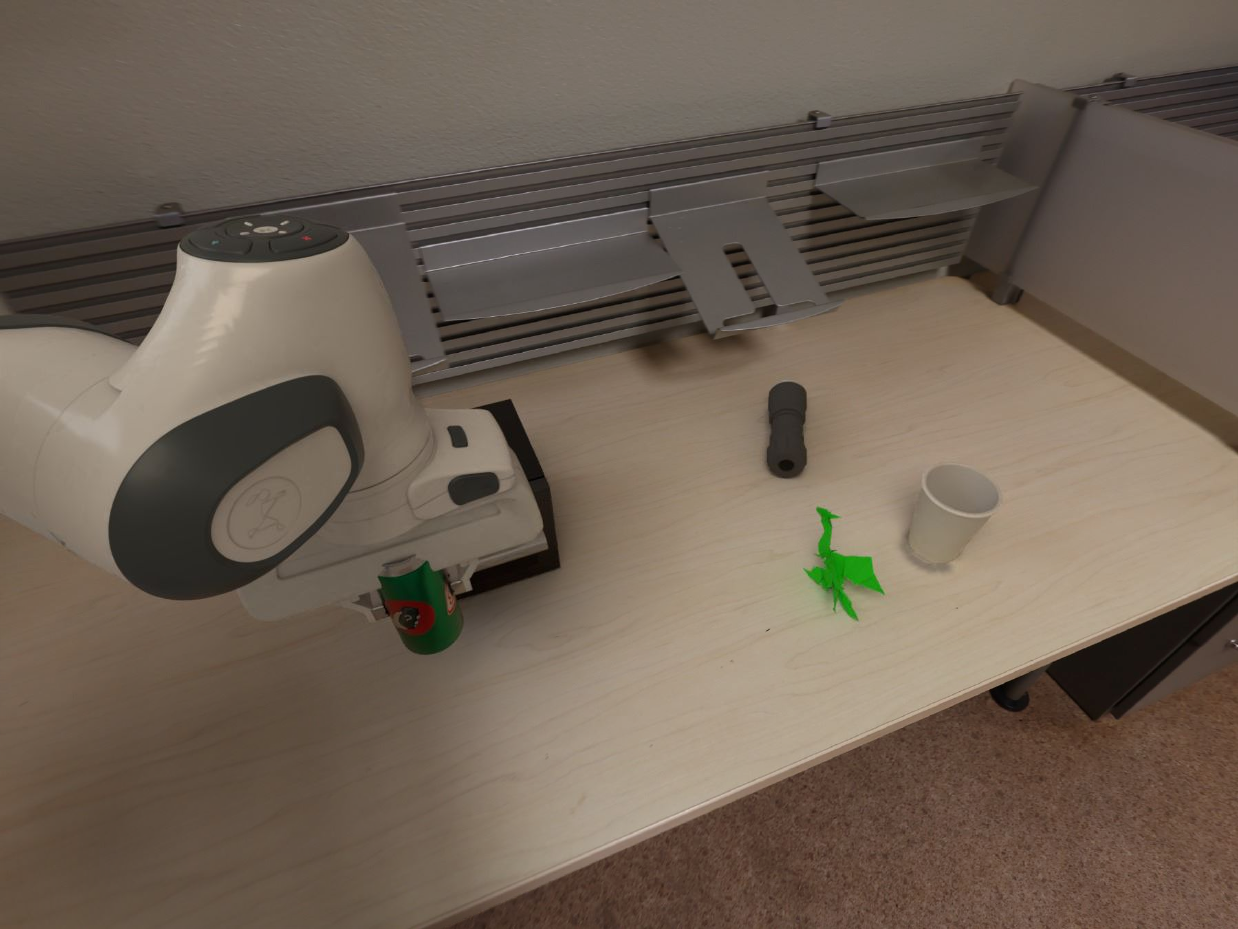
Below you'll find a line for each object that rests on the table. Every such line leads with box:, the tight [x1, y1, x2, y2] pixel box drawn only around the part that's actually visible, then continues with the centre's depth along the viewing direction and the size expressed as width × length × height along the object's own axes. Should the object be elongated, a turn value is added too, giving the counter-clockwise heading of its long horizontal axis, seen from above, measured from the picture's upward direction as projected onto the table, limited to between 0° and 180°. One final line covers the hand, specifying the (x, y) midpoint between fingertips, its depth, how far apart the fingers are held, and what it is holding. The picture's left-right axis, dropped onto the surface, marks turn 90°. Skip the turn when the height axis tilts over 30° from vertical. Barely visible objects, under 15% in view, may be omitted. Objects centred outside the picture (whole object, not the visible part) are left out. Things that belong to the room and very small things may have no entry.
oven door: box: [456, 476, 562, 602], centre depth 68 cm, size 7×18×14 cm, turn 112°
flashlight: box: [765, 379, 808, 479], centre depth 90 cm, size 15×5×5 cm, turn 169°
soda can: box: [377, 554, 465, 656], centre depth 49 cm, size 5×5×12 cm
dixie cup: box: [907, 461, 1004, 564], centre depth 74 cm, size 8×8×10 cm
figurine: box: [802, 506, 886, 622], centre depth 71 cm, size 6×12×9 cm, turn 21°
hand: (421, 599), depth 50 cm, fingers closed on soda can, 5 cm apart
